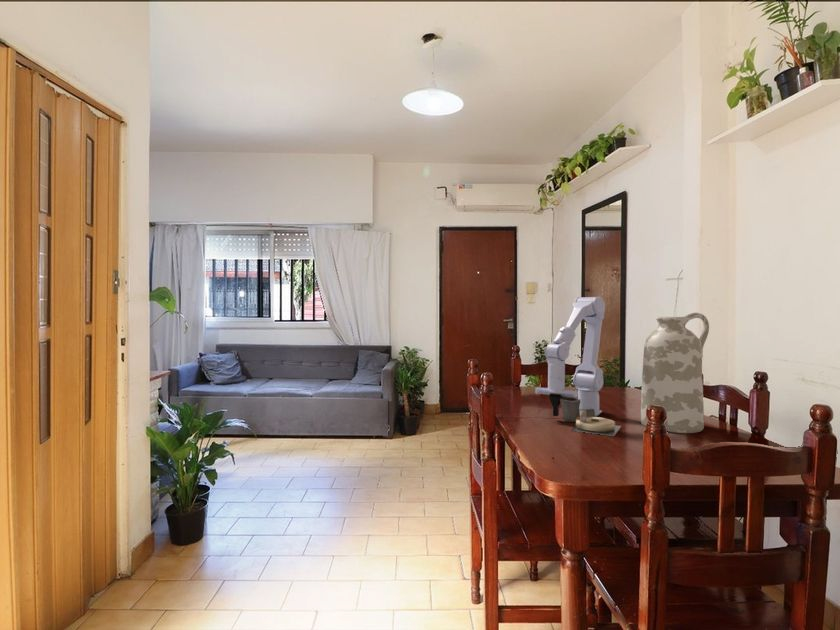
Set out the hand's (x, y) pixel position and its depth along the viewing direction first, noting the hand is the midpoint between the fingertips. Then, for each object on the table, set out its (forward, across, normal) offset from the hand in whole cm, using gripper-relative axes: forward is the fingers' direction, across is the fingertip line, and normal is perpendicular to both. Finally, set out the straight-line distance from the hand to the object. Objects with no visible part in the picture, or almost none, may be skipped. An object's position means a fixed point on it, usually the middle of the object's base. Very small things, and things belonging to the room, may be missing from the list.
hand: (555, 415), depth 166 cm
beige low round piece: (+2, +14, -5) cm, 15 cm away
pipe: (+2, +6, +3) cm, 7 cm away
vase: (+1, +36, +12) cm, 38 cm away
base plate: (+2, +15, -5) cm, 16 cm away
